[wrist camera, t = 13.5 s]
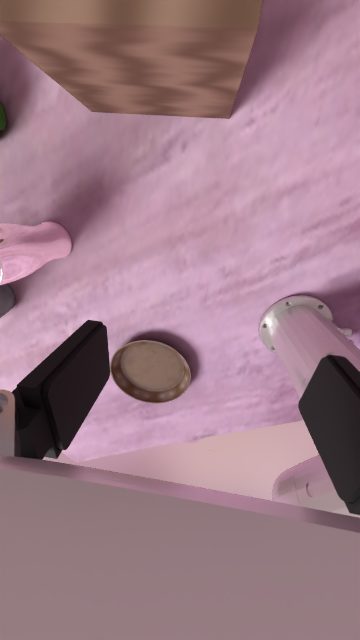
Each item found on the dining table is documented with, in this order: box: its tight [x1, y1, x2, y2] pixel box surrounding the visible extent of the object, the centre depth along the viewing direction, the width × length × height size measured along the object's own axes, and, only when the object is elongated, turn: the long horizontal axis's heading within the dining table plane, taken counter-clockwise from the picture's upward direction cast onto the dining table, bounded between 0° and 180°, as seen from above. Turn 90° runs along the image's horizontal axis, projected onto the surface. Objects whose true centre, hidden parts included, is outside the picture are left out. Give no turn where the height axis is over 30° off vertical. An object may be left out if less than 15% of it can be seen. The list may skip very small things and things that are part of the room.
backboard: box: [0, 0, 263, 119], centre depth 19 cm, size 18×7×16 cm, turn 86°
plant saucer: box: [110, 340, 191, 403], centre depth 47 cm, size 18×18×3 cm
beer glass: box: [0, 221, 72, 285], centre depth 30 cm, size 7×7×15 cm
